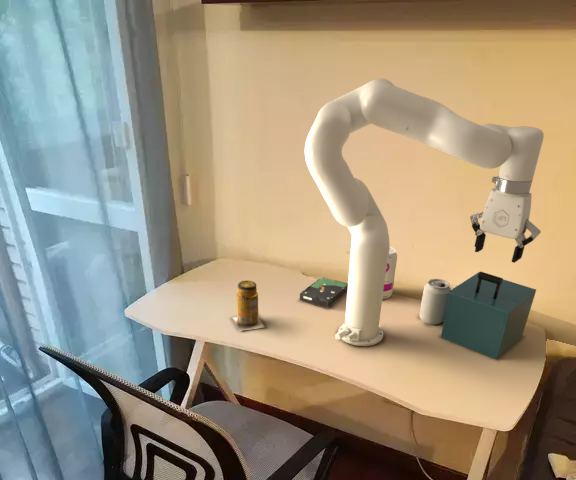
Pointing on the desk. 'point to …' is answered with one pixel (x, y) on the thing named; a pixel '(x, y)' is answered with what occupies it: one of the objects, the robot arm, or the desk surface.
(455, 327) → the teal box
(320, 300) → the disk drive
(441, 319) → the can
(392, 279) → the supplement can
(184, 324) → the desk surface
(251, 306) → the condiment
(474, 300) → the lid
